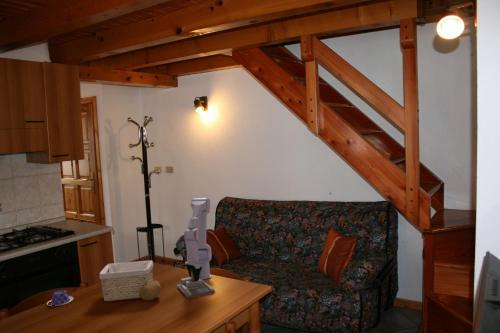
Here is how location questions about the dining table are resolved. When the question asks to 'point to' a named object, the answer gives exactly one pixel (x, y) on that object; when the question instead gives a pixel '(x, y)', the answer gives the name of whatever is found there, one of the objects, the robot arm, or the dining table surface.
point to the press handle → (193, 282)
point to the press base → (194, 289)
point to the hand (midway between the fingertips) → (194, 278)
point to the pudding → (60, 298)
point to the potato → (150, 290)
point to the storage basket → (125, 279)
